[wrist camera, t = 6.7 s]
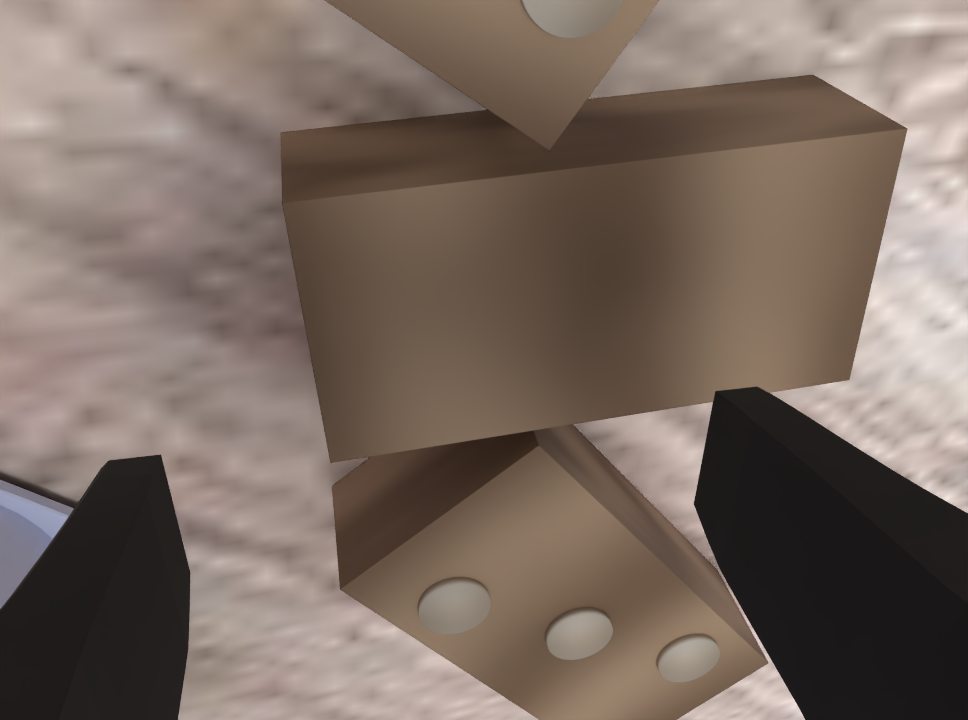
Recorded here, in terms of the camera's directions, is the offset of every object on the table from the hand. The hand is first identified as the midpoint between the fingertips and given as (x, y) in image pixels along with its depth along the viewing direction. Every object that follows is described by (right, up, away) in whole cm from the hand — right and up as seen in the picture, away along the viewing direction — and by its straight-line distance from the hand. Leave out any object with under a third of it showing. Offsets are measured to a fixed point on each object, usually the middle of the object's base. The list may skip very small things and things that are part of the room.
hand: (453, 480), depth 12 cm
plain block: (+2, +5, +10) cm, 11 cm away
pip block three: (+2, -3, +15) cm, 16 cm away
